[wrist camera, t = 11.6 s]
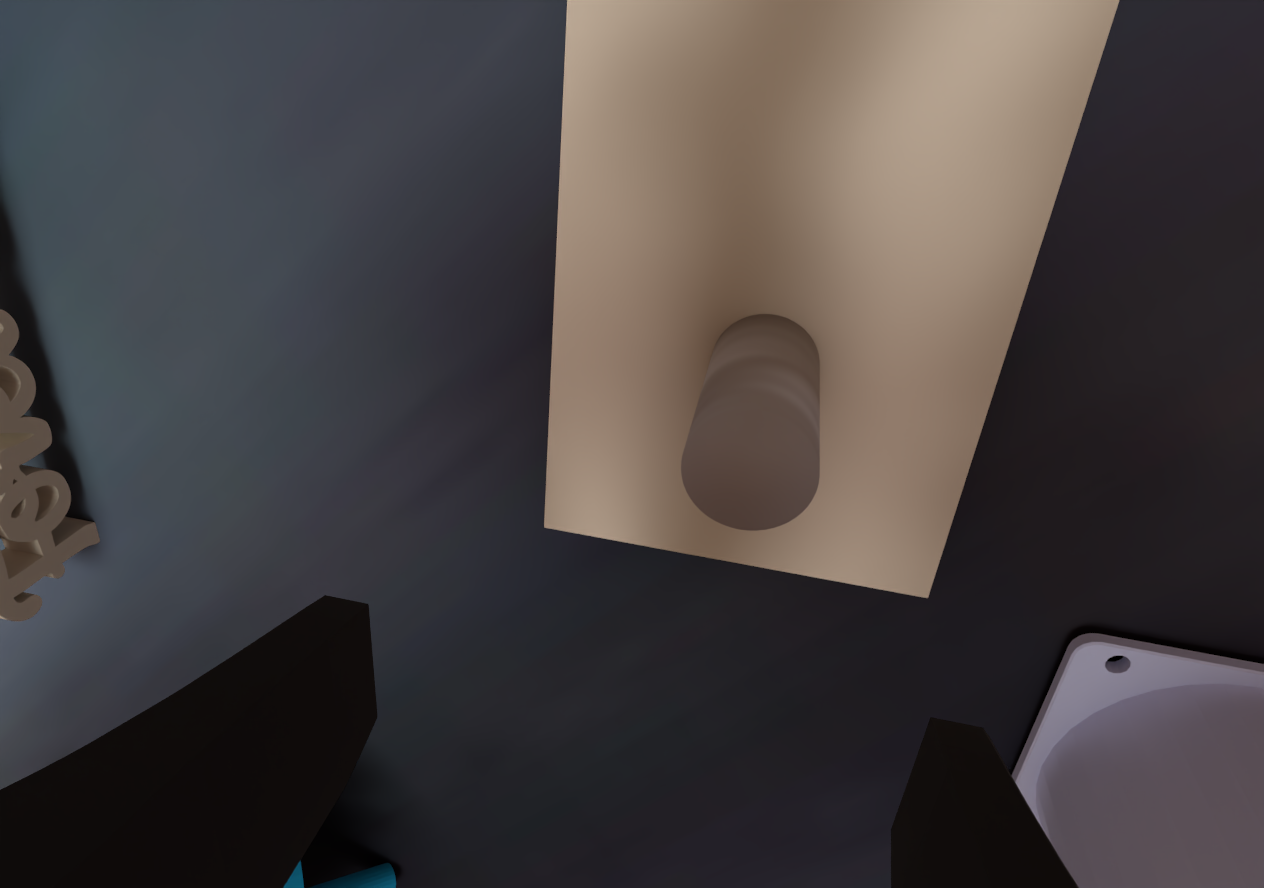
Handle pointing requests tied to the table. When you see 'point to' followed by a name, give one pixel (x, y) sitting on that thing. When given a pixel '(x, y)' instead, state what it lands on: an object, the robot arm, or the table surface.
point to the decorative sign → (29, 492)
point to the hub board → (798, 266)
